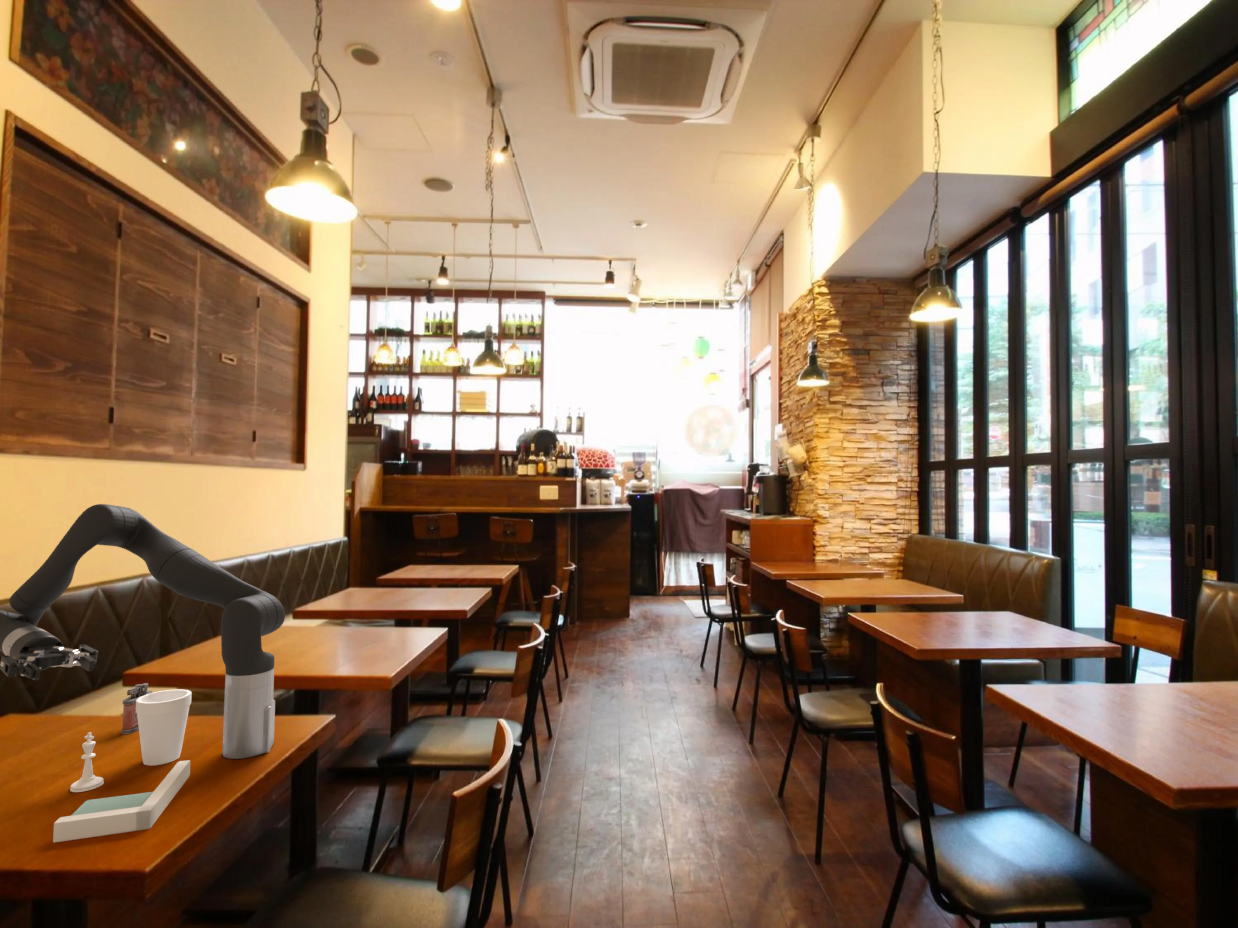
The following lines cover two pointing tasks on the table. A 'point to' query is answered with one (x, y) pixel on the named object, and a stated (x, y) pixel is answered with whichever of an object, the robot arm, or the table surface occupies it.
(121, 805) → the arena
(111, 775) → the table surface
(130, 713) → the lighter
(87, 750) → the chess piece
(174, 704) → the foam cup
